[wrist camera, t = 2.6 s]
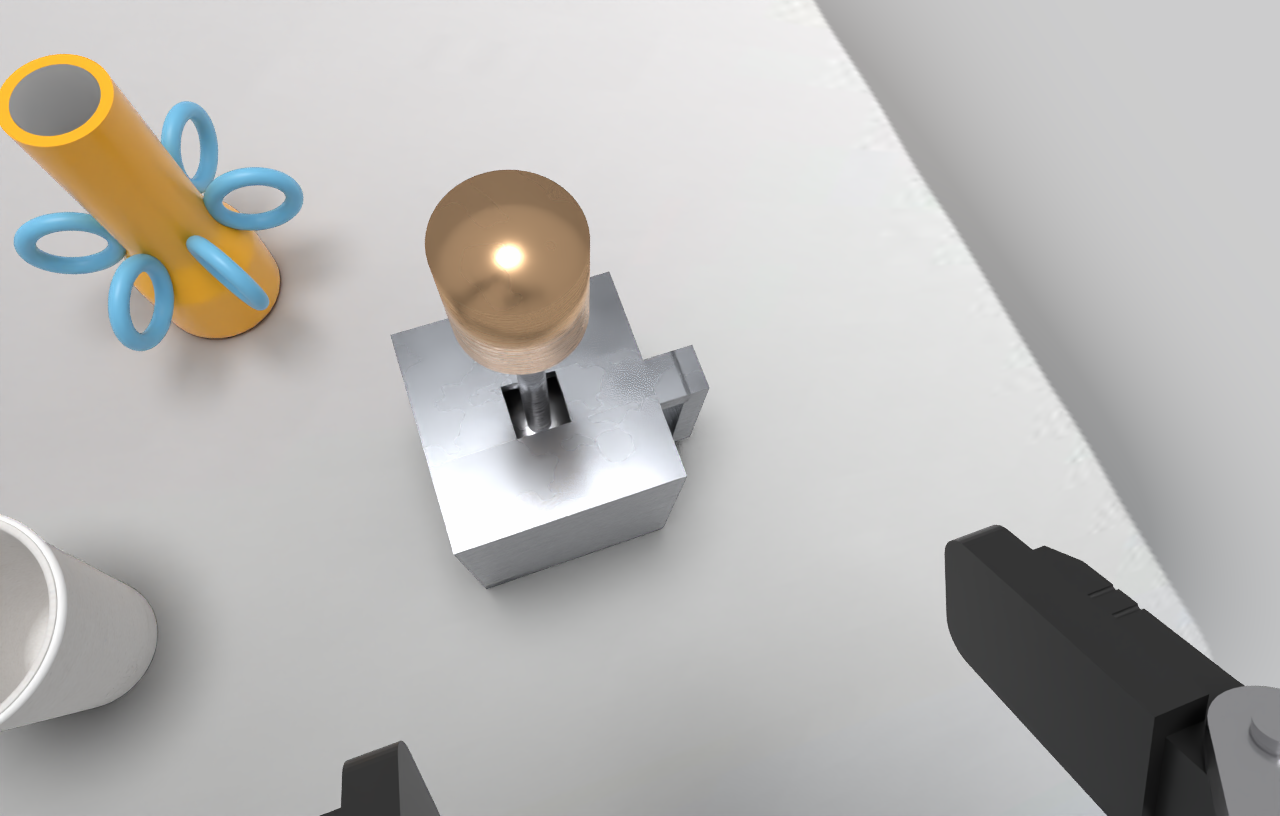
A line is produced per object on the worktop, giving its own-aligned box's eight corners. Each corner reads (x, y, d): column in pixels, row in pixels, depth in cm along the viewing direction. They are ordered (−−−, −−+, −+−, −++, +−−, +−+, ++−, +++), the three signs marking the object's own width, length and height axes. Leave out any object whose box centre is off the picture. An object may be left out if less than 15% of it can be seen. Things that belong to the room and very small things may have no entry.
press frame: (486, 588, 40) (453, 554, 30) (436, 418, 43) (390, 335, 33) (709, 511, 42) (748, 454, 32) (648, 353, 45) (666, 255, 35)
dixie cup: (-47, 676, 38) (-258, 670, 28) (87, 519, 40) (-66, 465, 31) (99, 780, 37) (-69, 810, 27) (227, 612, 39) (113, 586, 30)
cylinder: (380, 285, 45) (286, 99, 31) (233, 431, 42) (54, 298, 28) (216, 159, 47) (57, -72, 33) (65, 290, 44) (-183, 98, 30)
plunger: (482, 533, 34) (403, 411, 19) (435, 377, 36) (331, 159, 21) (647, 478, 35) (691, 323, 20) (593, 330, 37) (597, 92, 22)
